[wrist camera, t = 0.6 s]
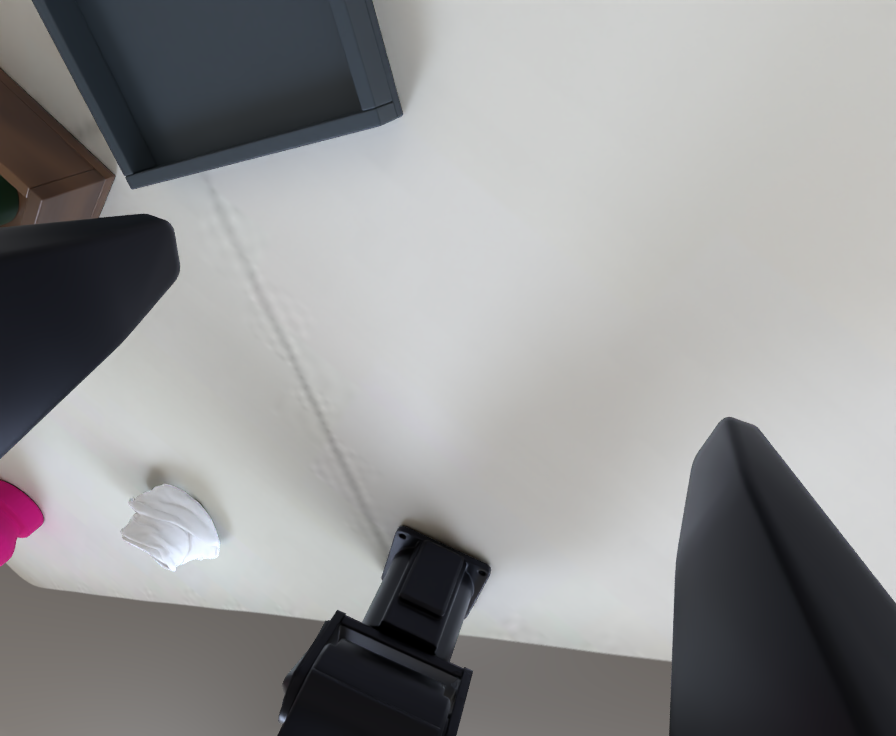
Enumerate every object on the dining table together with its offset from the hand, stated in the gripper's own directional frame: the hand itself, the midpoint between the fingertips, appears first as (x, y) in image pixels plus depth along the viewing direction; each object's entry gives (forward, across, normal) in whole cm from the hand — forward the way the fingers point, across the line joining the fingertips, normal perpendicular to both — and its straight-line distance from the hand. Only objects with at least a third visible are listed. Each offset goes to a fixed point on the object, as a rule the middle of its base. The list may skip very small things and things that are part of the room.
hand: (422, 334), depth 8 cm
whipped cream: (+13, +20, +36) cm, 43 cm away
